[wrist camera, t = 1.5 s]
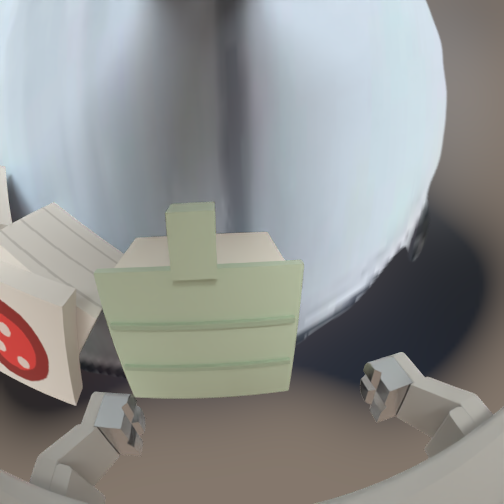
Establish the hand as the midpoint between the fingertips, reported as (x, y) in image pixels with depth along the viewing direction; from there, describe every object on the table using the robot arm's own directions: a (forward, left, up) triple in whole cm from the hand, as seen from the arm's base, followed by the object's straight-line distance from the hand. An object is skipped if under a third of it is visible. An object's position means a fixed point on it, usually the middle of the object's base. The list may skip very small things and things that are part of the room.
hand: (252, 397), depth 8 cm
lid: (+9, -3, -19) cm, 21 cm away
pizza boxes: (+5, -28, -30) cm, 41 cm away
